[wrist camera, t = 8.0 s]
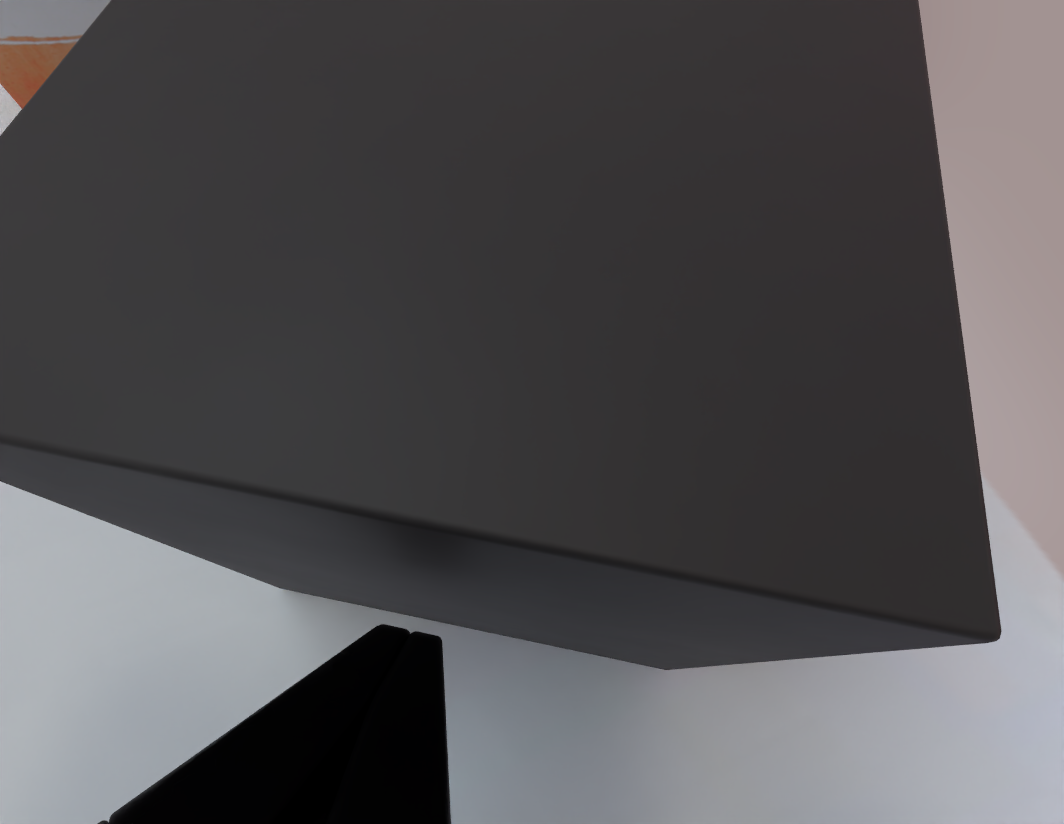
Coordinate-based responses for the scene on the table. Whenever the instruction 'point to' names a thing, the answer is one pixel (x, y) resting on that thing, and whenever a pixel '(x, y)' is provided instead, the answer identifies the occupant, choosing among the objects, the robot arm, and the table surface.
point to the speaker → (509, 316)
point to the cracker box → (39, 40)
